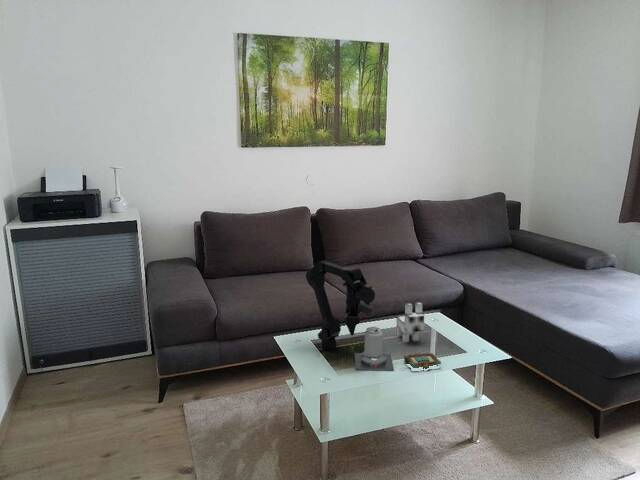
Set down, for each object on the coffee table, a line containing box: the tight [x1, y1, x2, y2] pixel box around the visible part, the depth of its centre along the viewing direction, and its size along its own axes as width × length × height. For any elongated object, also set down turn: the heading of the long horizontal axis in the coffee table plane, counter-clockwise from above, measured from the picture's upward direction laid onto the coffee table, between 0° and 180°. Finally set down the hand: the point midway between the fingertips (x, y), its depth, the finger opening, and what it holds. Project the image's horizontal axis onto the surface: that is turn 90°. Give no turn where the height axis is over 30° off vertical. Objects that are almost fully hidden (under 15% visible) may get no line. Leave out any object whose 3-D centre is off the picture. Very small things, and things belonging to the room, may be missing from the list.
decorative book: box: [403, 352, 442, 369], centre depth 207 cm, size 13×18×5 cm
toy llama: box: [396, 301, 425, 344], centre depth 234 cm, size 8×18×20 cm, turn 13°
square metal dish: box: [354, 350, 395, 372], centre depth 211 cm, size 16×15×4 cm
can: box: [364, 326, 383, 358], centre depth 210 cm, size 8×8×12 cm
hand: (352, 331), depth 213 cm, fingers open, 9 cm apart
